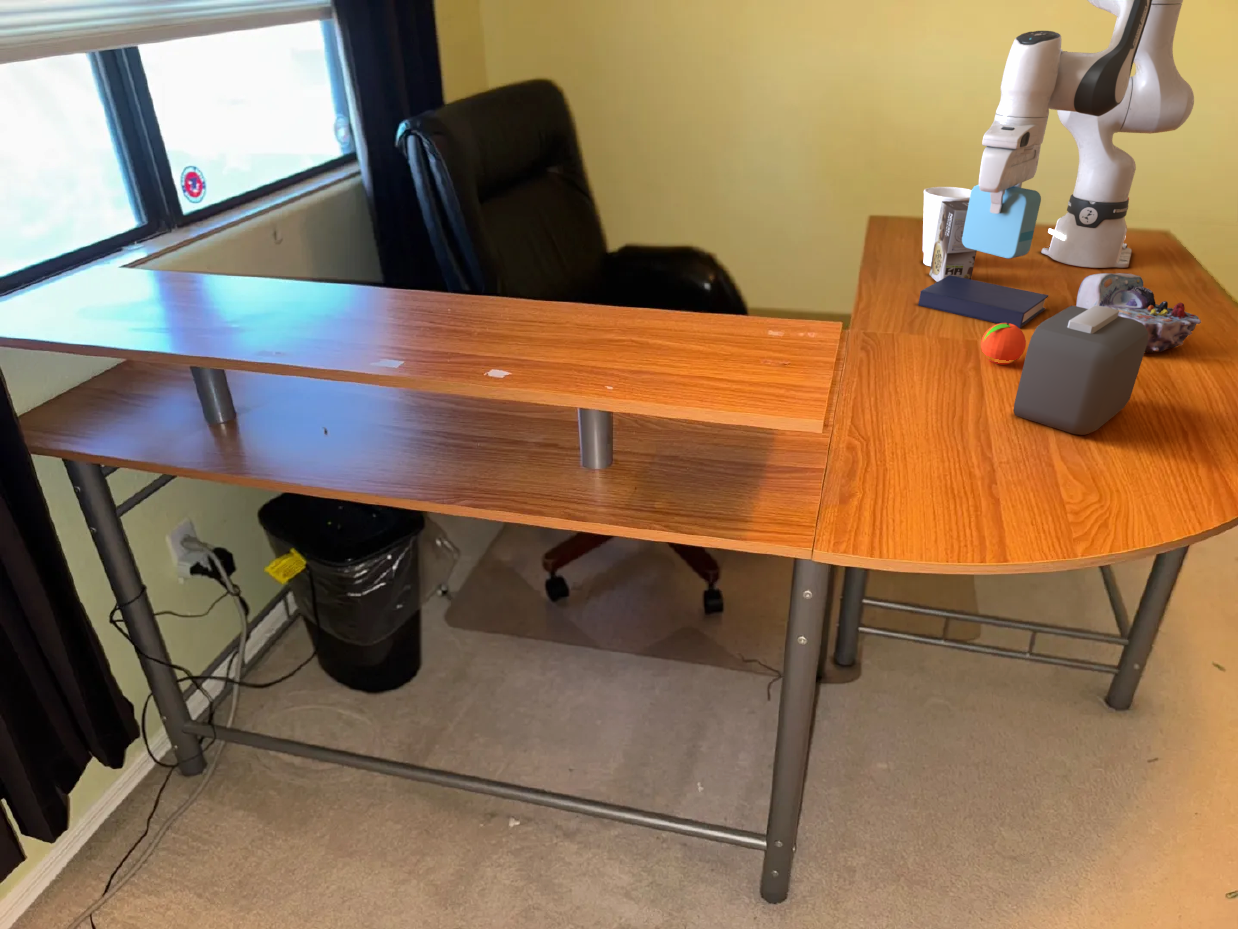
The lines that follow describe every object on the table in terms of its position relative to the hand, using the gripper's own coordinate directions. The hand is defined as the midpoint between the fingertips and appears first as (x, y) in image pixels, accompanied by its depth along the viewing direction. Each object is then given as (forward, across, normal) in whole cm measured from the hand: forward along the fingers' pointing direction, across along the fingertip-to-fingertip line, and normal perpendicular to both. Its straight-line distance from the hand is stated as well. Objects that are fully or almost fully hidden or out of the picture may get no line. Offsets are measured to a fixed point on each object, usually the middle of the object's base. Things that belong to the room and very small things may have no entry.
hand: (1001, 209), depth 165 cm
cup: (+19, -24, -19) cm, 36 cm away
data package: (+8, 0, 0) cm, 8 cm away
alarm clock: (+20, +40, +29) cm, 53 cm away
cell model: (+19, 0, +26) cm, 33 cm away
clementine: (+19, +27, +13) cm, 36 cm away
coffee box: (+19, -13, -12) cm, 26 cm away
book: (+19, 0, 0) cm, 19 cm away
